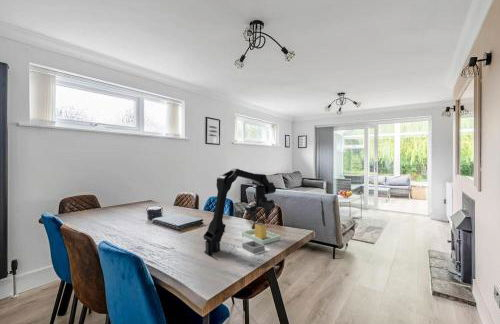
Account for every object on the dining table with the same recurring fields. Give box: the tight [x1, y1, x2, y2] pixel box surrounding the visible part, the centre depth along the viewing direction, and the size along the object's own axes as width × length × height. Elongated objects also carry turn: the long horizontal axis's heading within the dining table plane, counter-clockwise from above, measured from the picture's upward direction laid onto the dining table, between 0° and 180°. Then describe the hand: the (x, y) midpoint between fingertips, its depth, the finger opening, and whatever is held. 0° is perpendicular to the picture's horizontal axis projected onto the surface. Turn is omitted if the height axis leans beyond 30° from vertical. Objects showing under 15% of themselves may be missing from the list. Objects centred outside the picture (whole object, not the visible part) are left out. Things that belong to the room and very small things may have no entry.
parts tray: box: [241, 228, 282, 245], centre depth 150 cm, size 13×20×3 cm, turn 36°
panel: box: [236, 240, 272, 257], centre depth 130 cm, size 14×12×4 cm
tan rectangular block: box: [254, 222, 268, 240], centre depth 149 cm, size 4×6×8 cm, turn 36°
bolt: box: [251, 218, 266, 230], centre depth 172 cm, size 6×5×15 cm
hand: (260, 221), depth 149 cm, fingers open, 9 cm apart
